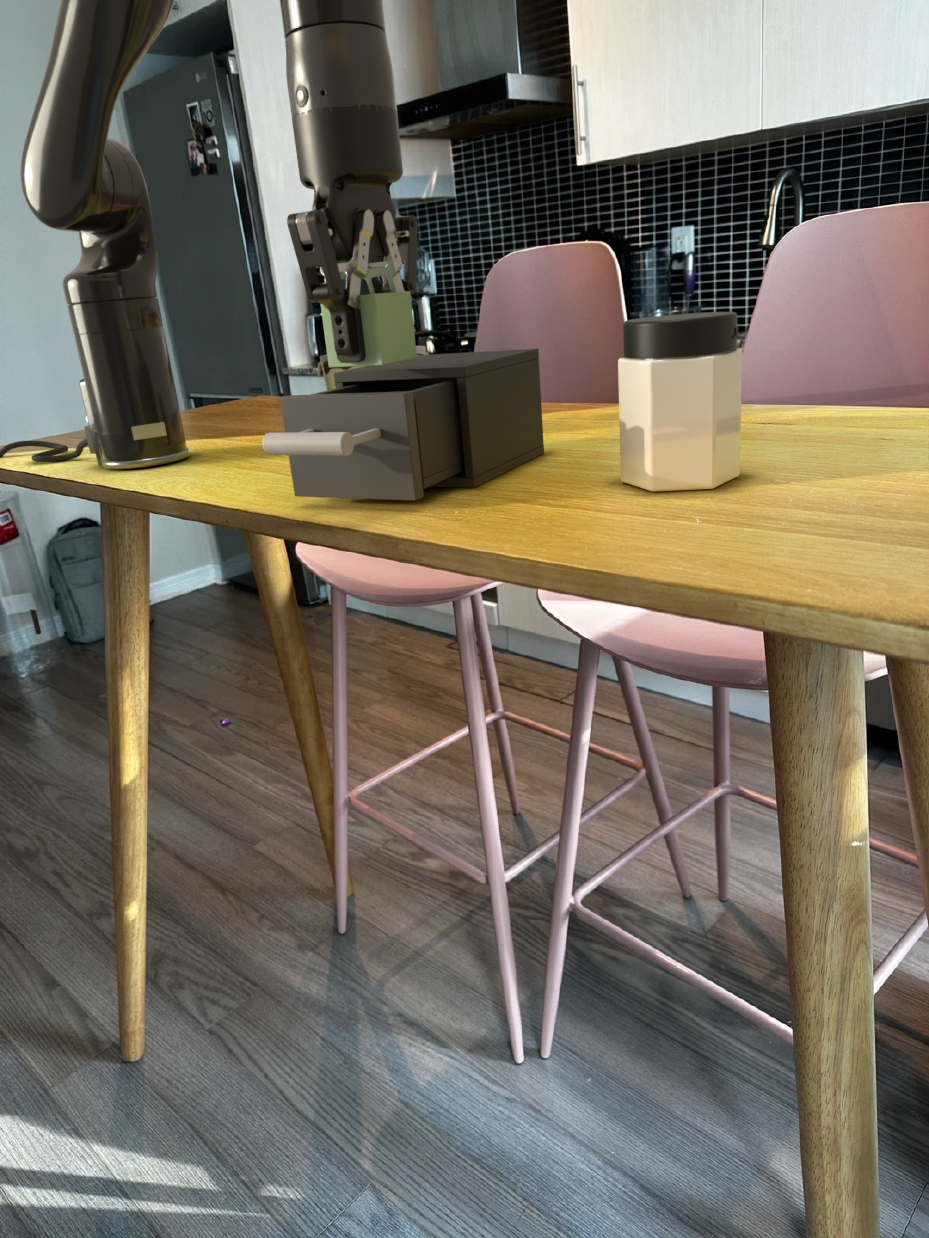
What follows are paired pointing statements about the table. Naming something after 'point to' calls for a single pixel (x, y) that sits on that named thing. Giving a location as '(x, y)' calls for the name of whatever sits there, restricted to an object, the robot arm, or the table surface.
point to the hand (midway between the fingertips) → (372, 357)
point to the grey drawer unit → (479, 405)
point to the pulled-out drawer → (372, 439)
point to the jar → (680, 401)
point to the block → (379, 330)
